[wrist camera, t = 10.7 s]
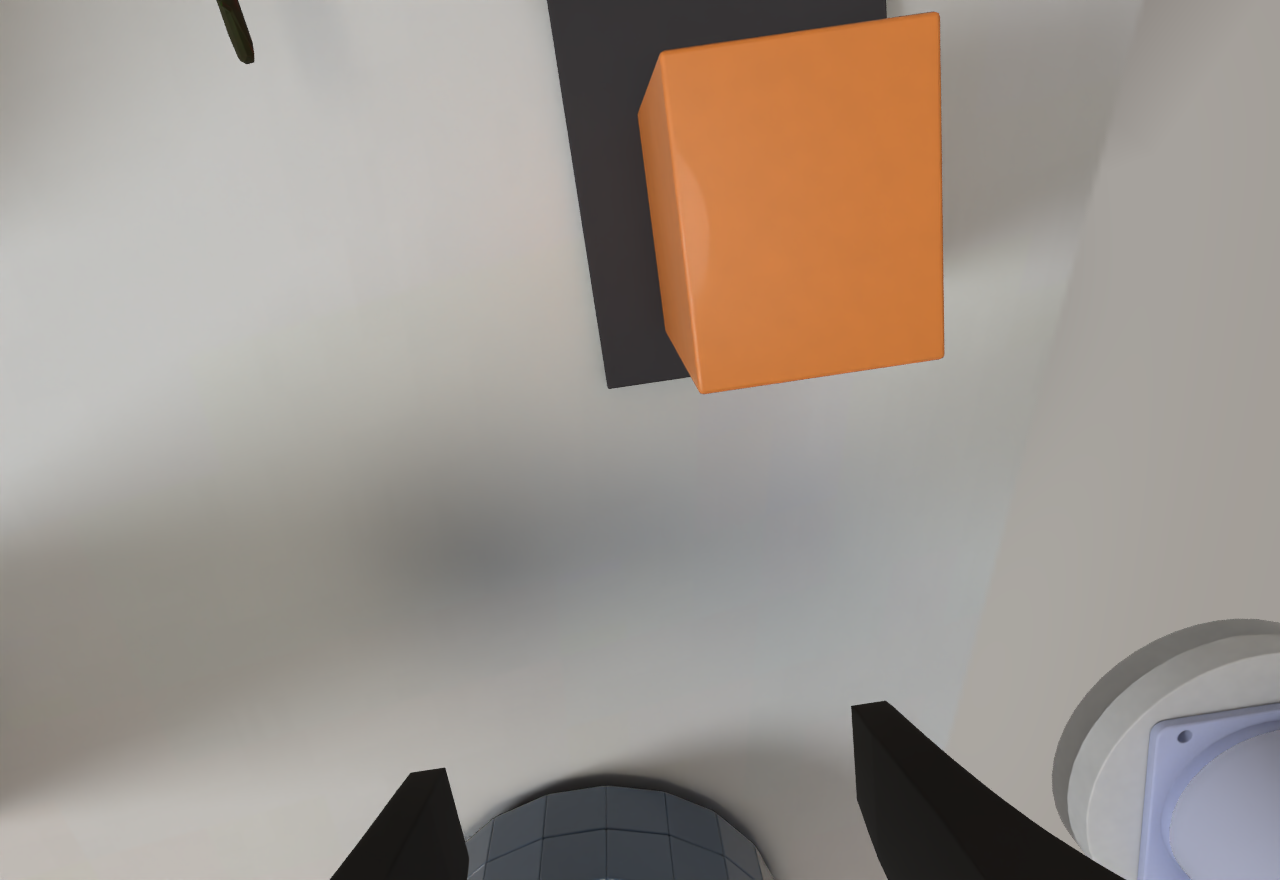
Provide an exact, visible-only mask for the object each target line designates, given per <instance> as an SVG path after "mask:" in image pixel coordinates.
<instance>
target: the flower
mask: <svg viewBox="0 0 1280 880" xmlns="http://www.w3.org/2000/svg"><path fill="white" fill-rule="evenodd" d="M217 3H218V6H219V9H220V12H221V15H222V18H223V20H224V23H225V26H226V29H227V32H228V35H229V37H230V39H231V42H232V44H233V47H234V49H235V51H236V54H237V56H238V58H239V59H240V61H242V62H244V63H245V64H250V63H253V62H254V50H253V43H252V40H251V37H250V34H249V31H248V28H247V25H246V22H245V19H244V16H243V13H242V10H241V8H240V5H239V2H238V0H217Z"/></svg>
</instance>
